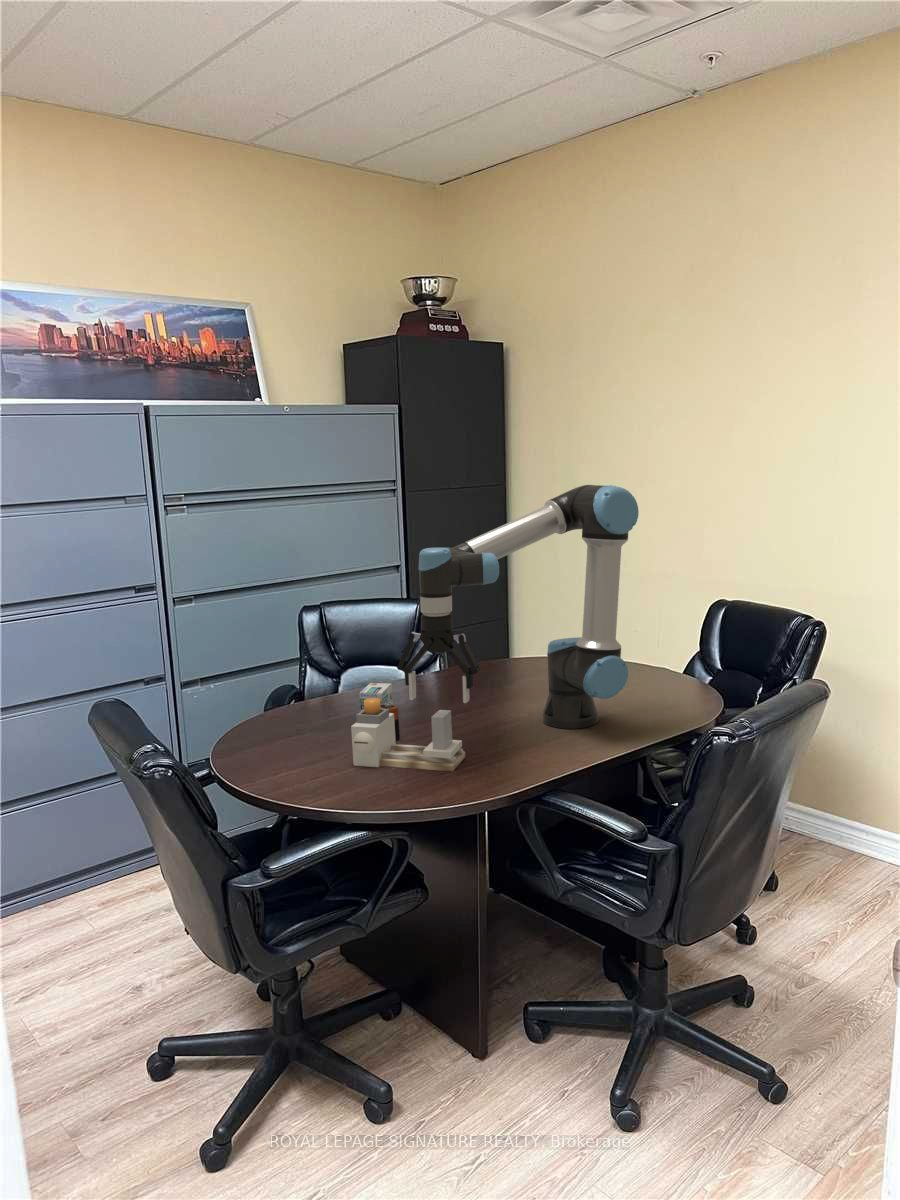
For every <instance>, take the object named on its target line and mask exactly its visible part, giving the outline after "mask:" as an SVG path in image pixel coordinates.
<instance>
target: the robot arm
mask: <svg viewBox="0 0 900 1200" xmlns="http://www.w3.org/2000/svg"><path fill="white" fill-rule="evenodd" d="M639 511H640V510H639V505H638V503H637V500H636V497H634V496H633V494H632V493H631V492H630V491H629V490H628V489H626V488H624V487H620V486H616V485H596V484H584V485H580V486H577V487H575V488H573V489H570V490H568V491H566V492H563V493H561V494H559V495H557V496H556V497H552V498H550V499H548V500H547V501H545V502H544V505H543V506H542V507H540V508H538V509H536V510H535V509H534V510H533V511H531V512H529V513H526V514H525V515H522V516H519V517H518V518H515V519H513V520H511V521H509V522H507V523H505V524H503V525H500V526H498V527H496V528H493V529H491V530H489V531H486V532H484V533H483V534H480V535H478V536H476V537H473V538H471V539H470V540H467V541H465V542H463V543H460V544H458V545H455V546H454V547H451V546H450V547H426V548H423V549H422V550H420V551H419V553H418V555H419V556H418V574H419V575H418V576H419V590H420V591H419V593H420V594H419V595H420V596H419V600H420V601H419V602H420V613H422V614H421V616H420V629H421V630H420V632H421V633H418V632H417V631H415V630H414V631H412V632H410V633H409V634H408V638H407V639H408V640H407V641H408V642H407V644H406V646H405V648H404V651H403V653H402V655H401V657H400V659H399V662H398V664H397V667H396V669H397V670H398V671H402V672H404V679H405V680H404V681H405V686H408V691H409V692H408V695H409V698H408V699H409V700H410V701H413V700H414V699H416V697H417V683H416V682H417V680H416V679H417V678H416V671H415V670H413V669H414V668H415V667H416V666H417V664H418V663H420V661H421V659H422V658H423V657H424V655H425V654H426V653H427V652H430V653H435V652H437V653H440V654H442V653H444V652H445V653H446V654H447V655H448V656H449V657H450V658H451V659H452V660H453V662H455V664H456V665H457V666H458V667H459V669H460V670H461V671H462V672H463V674H464V675H462V702H463V704H467V703H469V701H470V690H471V689H472V688H473V687H474V679H473V677H474V675H477V673H479V672H480V671H481V667H480V664H479V663H478V660H477V659H476V658H475V655H474V653H473V651H472V649H471V647H470V645H469V644H468V640H467V634H466V633H465V632H462V633H461V634H455V633H454V629H453V628H454V624H453V622H454V621H453V620H454V619H453V614H452V613H451V612H452V611H453V596H452V595H453V589H452V588H457V587H466V586H467V587H468V586H479V585H481V586H482V585H483V586H484V585H488V584H494V583H495V582H497V580H498V578H499V576H500V563H499V561H498V560H499V559H502V558H504V557H506V556H508V555H511V554H513V553H515V552H517V551H519V550H521V549H524V548H526V547H528V546H530V545H532V544H534V543H537V542H539V541H541V540H544V539H545V538H548V537H550V536H552V535H554V534H557V535H563V534H565V533H567V532H571V531H575V530H581V539H582V540H583V541H584V543H585V544H586V562H585V563H586V564H585V578H584V579H585V581H584V582H585V584H584V598H583V599H584V601H583V615H582V617H583V618H582V636H581V637H579V636H578V637H567V638H566V637H565V638H558V639H553V640H552V641H550V642H548V644H547V653H546V656H547V676H548V677H547V679H548V695H547V699H546V702H545V705H544V708H543V712H542V722H543V723H544V724H545V725H547V726H549V727H553V728H556V729H557V728H559V729H569V730H570V729H572V730H573V729H575V730H576V729H582V728H583V729H584V728H588V727H592V726H595V725H596V724H597V723H598V722H599V711H598V708H597V706H596V703H595V699H594V698H598V699H601V700H607V699H612V698H613V697H616V696H617V695H618V694H619V693H620V692H621V691H622V690H623V689H624V688H625V686H626V685H627V682H628V679H629V667H628V666H627V663H626V662H625V661H624V659H623V658H621V657H622V645H621V644H620V642H619V641H618V640H617V625H618V610H619V609H618V608H619V607H618V606H619V594H620V593H619V591H620V579H621V578H620V574H621V559H622V558H621V557H622V547H623V545H625V544H626V543H627V542H628V540H629V532H630V531H632V529H634V528H633V527H634V526H636V525H637V523H638V519H639V514H640V513H639ZM419 640H420V641H421V642H422V644H423V645H422V647H421V648H420V649H419V651H418V652H417V653H416V654H415V655H414V656H413V658H412V659H411V660H410V661H409V659H410V658H411V657H410V656H411V654H412V653H413V649H414V648H415V646H416V643H417V642H418V641H419ZM454 641H456V643H457V644H458V646H459V647H460V649H461V652H462V654H463V655H464V658H465V659H466V660H465V659H464V658H463V656H462V655H461V653H459V652H458V650H457V648H456V646H455V645H453V643H454ZM408 661H409V662H408Z"/></svg>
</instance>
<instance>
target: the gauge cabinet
mask: <svg viewBox="0 0 900 1200" xmlns="http://www.w3.org/2000/svg"><path fill="white" fill-rule="evenodd" d="M355 721H356V722H355V723H354V724H352V725H351V726H350V730H351V744H352V745H351V747H352V760H353V766H355V767H367V768H368V767H369V768H379V767H381V763H380V760H381V759H382V753H383V752H390V751H391V745H393V744H396V741H397V740H395V721H394V713H389V709H381V712H380V713H377V714H365V712H364V710H362V711H361V710H360V711H359V712H358V713H356V714H355Z"/></svg>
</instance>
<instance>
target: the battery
mask: <svg viewBox="0 0 900 1200" xmlns="http://www.w3.org/2000/svg"><path fill="white" fill-rule="evenodd" d="M380 709H389V713H394V721H395V740H396V741H397V740H400V739H401V738H400V721H399V720H400V719H399V707H398V705H394V704H393V705H392V703H385V702H384V701H380Z"/></svg>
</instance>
